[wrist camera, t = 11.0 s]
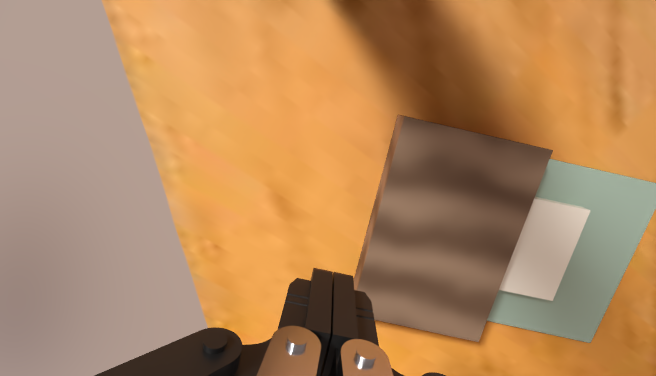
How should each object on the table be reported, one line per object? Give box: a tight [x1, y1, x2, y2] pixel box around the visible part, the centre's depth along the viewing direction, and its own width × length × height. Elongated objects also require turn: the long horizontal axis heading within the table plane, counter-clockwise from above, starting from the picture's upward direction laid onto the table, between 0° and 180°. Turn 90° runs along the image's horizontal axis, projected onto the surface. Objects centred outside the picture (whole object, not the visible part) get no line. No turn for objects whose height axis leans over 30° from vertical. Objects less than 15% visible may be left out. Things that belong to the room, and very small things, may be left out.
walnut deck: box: [354, 115, 553, 342], centre depth 40 cm, size 24×16×4 cm, turn 167°
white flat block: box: [499, 197, 591, 301], centre depth 41 cm, size 12×8×2 cm, turn 168°
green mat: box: [487, 159, 656, 343], centre depth 42 cm, size 22×16×1 cm
